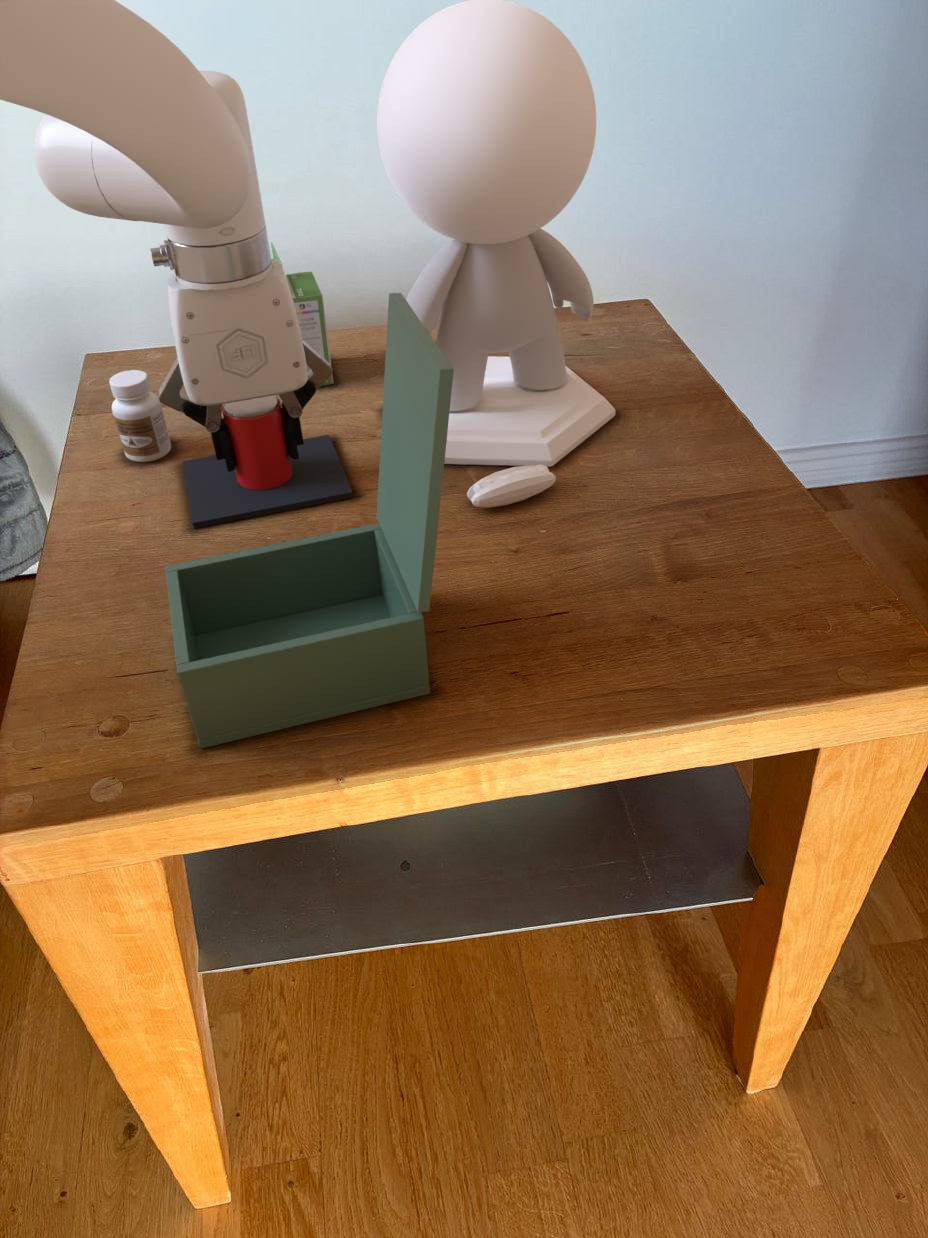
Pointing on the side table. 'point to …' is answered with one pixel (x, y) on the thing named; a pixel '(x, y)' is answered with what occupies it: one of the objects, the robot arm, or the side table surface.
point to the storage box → (294, 634)
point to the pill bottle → (139, 417)
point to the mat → (227, 500)
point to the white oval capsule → (510, 486)
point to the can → (258, 442)
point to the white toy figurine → (496, 220)
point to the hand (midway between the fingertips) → (261, 456)
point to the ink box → (309, 312)
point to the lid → (412, 446)
